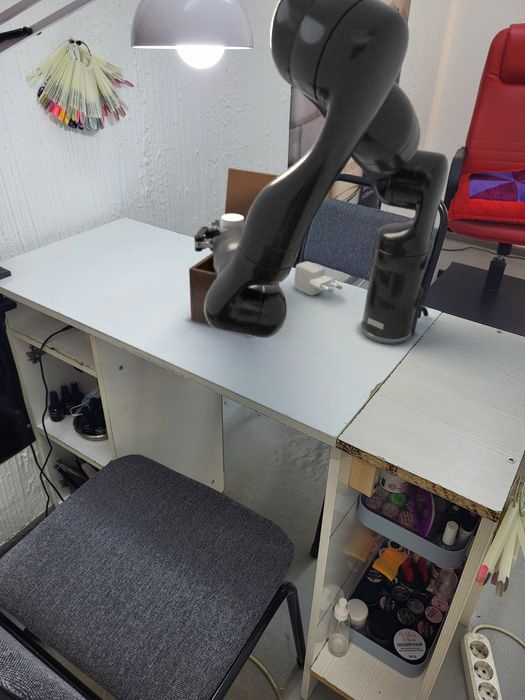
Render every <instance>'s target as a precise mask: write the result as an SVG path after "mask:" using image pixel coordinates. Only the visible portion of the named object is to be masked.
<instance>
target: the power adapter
mask: <svg viewBox="0 0 525 700" xmlns="http://www.w3.org/2000/svg"><path fill="white" fill-rule="evenodd" d="M325 272H326V270H325V268H323V266H320V265H318V264H316V263H313V262H312V261H308V260H307V261H302V262H299V263H297V264H296V265H295V269H294V288H295V289H297V290H299V291H300V292H302V293H304V294H306V295H309V296H316V295H318V294H320V293H322V291H325V290H326V291H327V292H330V293H331V294H333V293H334V292H335V290H334V289H333V287H334V288H337V289H339V290H342V289H343V286H342V285H340V284H337V283H336V280H335V279H334V278H333V277H331V276H327V275H326V274H325Z"/></svg>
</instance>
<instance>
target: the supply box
mask: <svg viewBox="0 0 525 700" xmlns="http://www.w3.org/2000/svg"><path fill="white" fill-rule="evenodd" d="M213 263H214V258H213V252H211V253H210V254H208V255H207V256H206V257H204V258H203V259H201V260H200V261H198V262H197V263H195V264H194V265H192V266H191V267H190V268H188V275H189V276H188V279H189V299H190V321H193V322H197V323H200V324H204V325H209V326H211V325H210V324H209V322H208V321H207V319H206V316H205V313H204V303H205V298H206V295H207V293H208V291H209V289H210V287H211V285H212V284H213V282H214V281H215V279H216V278H217V276H216V273H215V270H214V266H213ZM278 285H279V286H280V283H278Z"/></svg>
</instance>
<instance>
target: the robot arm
mask: <svg viewBox="0 0 525 700" xmlns="http://www.w3.org/2000/svg"><path fill="white" fill-rule="evenodd" d="M270 25H271V26H270V36H269V37H270V41H269V42H270V52H271V53H270V54H271V57H272V61H273V65H274V66H275V69H276V71H277V73H278V74H279V76H280V77H281V78H282V79H283V81H285V82H286V83H287V84H288V85H290V86H291V87H292V88H294V89H295V90H297V91H298V92H299V93H300V94H301V95H303V96H304V97H305V98H306V99H307V100H308V101H309V102H310V103H311V104H312V105H313V106H314V107H315V108H316V109H317V110H318V111H319V113H320V115H321V116H322V117H323V119H324V122H323V124H322V127H321V129H320V132H319V134H318V136H317V137H316V139H315V141H314V142H313V144H312V145H311V147H310V148H309V149H308V150H307V152H306V153H305V154H304V155H303V156H302V157H300V158H299V159H298V160H297V161H296V162H295V163H293V165H291V166H289V167H288V168H287V169H286V170H285V171H283V172H281V173H280V174H278V175H279V176H278V177H276V178H275V179H274V180H273V181H271V182H270V183H269V184H268V185H267V186H266V187H264V188H263V189H262V191H261V192H260V193H259V194H258V196H257V197H256V198H255V200H254V202H253V204H252V206H251V208H250V210H249V212H248V215H247V218H246V220H245V224H244V227H243V229H240V228H232V229H228V230H226V229H224V228H223V227H221V224H220V223H221V222H220V219H215V220H214V222H211V227H210V228H209V227H208V226H205V225H204V226H201V227H200V228H199V230H198V231H197V233H196V234H195V235H194V237H193V238H194V251H195V252H196V253H200V252H202V251H203V250H206V249H209V250H210V251H211V253H213V258H214V263H213V266H214V270H215V273H216V276H217V278H216V279H215V281H214V282H213V284H212V285H211V287H210V289H209V291H208V293H207V295H206V298H205V303H204V313H205V316H206V319H207V321H208V322H209V324H210V325H209V326H211V327H212V328H214V329H216V330H219V331H223V332H228V333H234V334H239V335H243V336H249V337H254V338H259V339H268V338H271V337H273V336H276V334H278V333H279V332H280V331H281V330H282V329H283V327H284V325H285V322H286V321H287V315H288V304H287V299H286V296H285V293H284V291H283V289H282V288H281V286H280V283H282V282H284V281H285V280H286V279H287V278H288V277H289V275H290V273H291V271H292V270H293V267H294V264H295V262H296V260H297V257H298V255H299V253H300V251H301V248H302V246H303V243H304V242H305V239H306V236H307V233H308V232H309V229H310V227H311V225H312V223H313V221H314V219H315V217H316V215H317V213H318V211H319V209H320V208H321V206H322V204H323V203H324V201H325V199H326V197H327V196H328V195H329V193H330V191H331V190H332V189H333V187H334V185H335V183H336V181H337V180H338V179H339V177H340V176H341V174H342V172H343V170H345V168H346V166H347V164H348V162H349V161H350V160H351V159H352V160H353V161H354V163H355V164H356V165H357V166H358V167H359V168H360V169H361V170H362V172H363V174H364V175H365V176H366V178H367V179H368V181H369V184H370V186H371V189H372V192H373V194H374V196H375V197H376V199H377V200H378V201H379V202H380V203H382V204H384V205H386V206H389V207H395V208H399V209H405V210H411V211H414V212H415V213H414V216H413V217H411V218H408V219H406V220H401V221H395V222H389V223H386V224H383V225H382V226H380V227H379V228H378V229H377V231H376V234H375V239H374V245H373V254H372V259H371V265H370V272H369V278H368V285H367V290H366V297H365V303H364V308H363V309H364V310H363V316H362V321H361V325H360V331H361V333H362V334H363V336H365V337H366V338H368V339H369V340H372V341H374V342H376V343H381V344H385V345H386V344H387V345H397V344H402V343H405V342H407V341H408V340H410V338H411V336H414V335H415V333H416V328H417V324H418V320H420V319H421V317H422V314H423V316H424V317H427V318H428V316H429V311H428V309H427V307H425V306H424V305H422V301H423V297H424V292H425V291H424V288H423V287H422V282H423V278H424V275H425V274H424V273H425V269H426V264H427V260H428V255H429V250H430V247H431V240H432V237H433V233H434V229H435V224H436V220H437V215H438V211H439V208H440V204H441V200H442V196H443V194H444V190H445V187H446V183H447V179H448V172H449V161H448V157H447V156H446V155H445V154H444V153H441V152H436V151H430V150H424V149H423V150H422V149H419V146H420V142H421V127H420V123H419V122H420V121H419V119H418V116H417V114H416V111H415V108H414V105H413V103H412V101H411V100H410V98H409V96H408V95H407V94H406V93H405V91H404V90H403V89H402V87H400V85H399V84H398V83H397V82H396V80H397V79H398V76H399V74H400V72H401V70H402V67H403V65H404V61H405V58H406V55H407V52H408V49H409V41H410V29H409V25H408V21H407V19H406V18H405V16H404V15H403V14H402V13H401V11H399V10H397V9H395V8H394V7H392V6H390V5H389V4H387V3H385V2H383V1H382V0H279V1H278V2H277V5H276V8H275V10H274V13H273V16H272V20H271V24H270ZM278 283H279V285H278Z"/></svg>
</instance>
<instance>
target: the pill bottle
mask: <svg viewBox="0 0 525 700" xmlns="http://www.w3.org/2000/svg"><path fill="white" fill-rule="evenodd" d="M220 218H221V220H220V221H221V222H220V223H221V225H220V227H223V228H224V229H226V230H228V229H232V228H240V229H243V225H244V217H243V216H242V215H239V214H225V213H224V214H223V215H222V216H221V217H220Z"/></svg>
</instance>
